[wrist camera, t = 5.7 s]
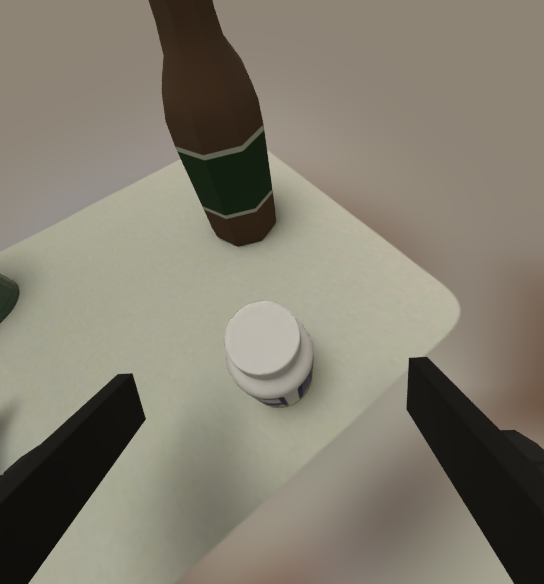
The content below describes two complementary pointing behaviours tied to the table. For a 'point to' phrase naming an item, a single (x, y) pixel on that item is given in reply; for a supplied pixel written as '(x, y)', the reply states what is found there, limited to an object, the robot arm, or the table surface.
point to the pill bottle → (269, 353)
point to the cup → (7, 295)
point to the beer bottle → (215, 120)
